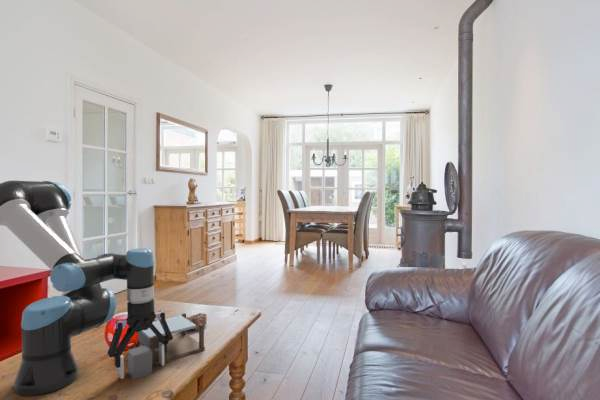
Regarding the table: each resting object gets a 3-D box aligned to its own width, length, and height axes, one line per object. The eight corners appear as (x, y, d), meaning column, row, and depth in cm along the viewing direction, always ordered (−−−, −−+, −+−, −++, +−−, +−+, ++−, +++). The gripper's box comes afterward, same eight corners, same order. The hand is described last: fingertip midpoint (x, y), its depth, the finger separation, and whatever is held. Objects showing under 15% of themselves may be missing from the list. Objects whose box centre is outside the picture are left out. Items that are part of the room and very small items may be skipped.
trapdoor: (149, 350, 115) (149, 337, 115) (136, 338, 125) (136, 325, 125) (196, 337, 126) (196, 325, 126) (181, 327, 136) (181, 315, 135)
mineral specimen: (200, 330, 140) (192, 315, 140) (184, 340, 141) (175, 325, 141) (211, 319, 152) (202, 305, 152) (196, 328, 153) (188, 314, 153)
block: (133, 379, 106) (133, 356, 106) (127, 372, 110) (127, 349, 110) (152, 373, 110) (152, 350, 110) (146, 366, 114) (146, 345, 114)
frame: (150, 368, 113) (150, 339, 113) (132, 348, 127) (132, 323, 127) (206, 350, 126) (206, 325, 125) (184, 335, 139) (184, 311, 139)
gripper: (100, 312, 99) (102, 389, 100) (183, 295, 115) (184, 362, 116) (94, 305, 105) (96, 378, 106) (174, 289, 120) (175, 354, 121)
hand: (142, 370), depth 111 cm, fingers open, 11 cm apart
